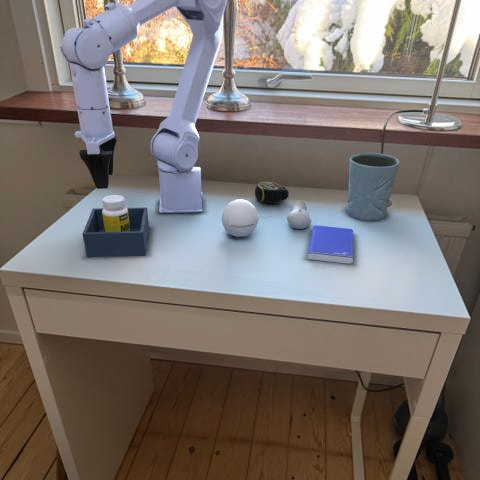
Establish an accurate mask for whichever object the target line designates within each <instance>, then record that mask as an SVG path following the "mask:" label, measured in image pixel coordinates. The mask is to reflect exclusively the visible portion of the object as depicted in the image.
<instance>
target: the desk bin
mask: <svg viewBox="0 0 480 480" xmlns="http://www.w3.org/2000/svg"><path fill="white" fill-rule="evenodd" d="M103 208H104V207H103ZM103 208H102V207H101V208H98V207H97V208H92V209H91V211H90V214H89V216H88V219H87V222H86V224H85V227H84V229H83V231H82V239H83V240H82V241H83V244H84V248H85V250H84V251H85V254H86V255H85V256H86V258H105V257H106V258H109V257H110V258H111V257H140V256H141V257H143V256H144V257H145V256H146V255H147V249H148V241H149V234H150V221H149V212H148V207H147V206H146V207H145V206H144V207H127V209H128V215H129V223H130V231H128V232H105V227H104V221H103V215H102V210H103Z"/></svg>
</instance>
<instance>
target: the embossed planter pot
mask: <svg viewBox="0 0 480 480" xmlns="http://www.w3.org/2000/svg"><path fill="white" fill-rule="evenodd" d="M400 163H401V162H400V159H398V158H397V157H395V156H393V155H389V154H385V153H379V152H361V153H356V154H353V155H351V156H350V157H349V166H348V168H349V169H348V173H349V174H348V190H347V191H348V194H347V202H346V203H347V204H346V205H347V206H346V213H347V214H348V215H349V216H350V217H352V218H353V219H357V220H361V221H366V222H367V221H369V222H372V221H373V222H374V221H380V220H382V219H384V218H385V216H386V214H387V210H388V207H389V206H388V205H389V201H390V199H391V195H392V192H393V185H394V183H395V180H396V178H397V177H396V176H397V173H398V170H399V166H400Z"/></svg>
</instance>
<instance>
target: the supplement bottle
mask: <svg viewBox="0 0 480 480" xmlns="http://www.w3.org/2000/svg"><path fill="white" fill-rule="evenodd" d="M102 207H103V210H102V215H103V221H104V227H105V232H128V231H130V223H129V215H128V209H127V208H128V207H127V206H126V199H125V197H124V195H121V194H109V195H106V196H104V197H102Z"/></svg>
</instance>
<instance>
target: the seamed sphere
mask: <svg viewBox="0 0 480 480" xmlns="http://www.w3.org/2000/svg"><path fill="white" fill-rule="evenodd" d="M272 217H273V215H272V216H268V218H272ZM263 218H264V219H265V216H263V217H262V216H260V217H259V213H258V210H257V209H256V207H255V205H254V204H252V202H250V201H249V200H245V199H243V198H238V199H234V200H231V201H230V202H229V203H227V204H226V205H225V207H224V208H223V210H222V213H221V223H222V227H223V228H224V229H225V232H227V233H228V234H230V235H231V236H233V237H237V238H243V237H247V236H249V235H250V234H252V233H253V232H254V231H255V230H256V228H257V227H258V223H259V219H263Z"/></svg>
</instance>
